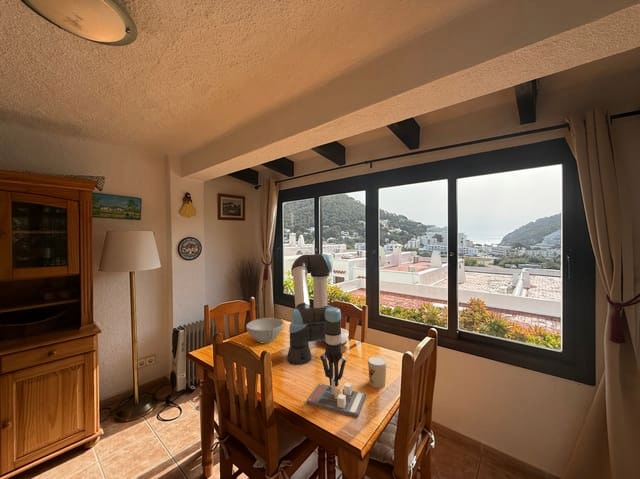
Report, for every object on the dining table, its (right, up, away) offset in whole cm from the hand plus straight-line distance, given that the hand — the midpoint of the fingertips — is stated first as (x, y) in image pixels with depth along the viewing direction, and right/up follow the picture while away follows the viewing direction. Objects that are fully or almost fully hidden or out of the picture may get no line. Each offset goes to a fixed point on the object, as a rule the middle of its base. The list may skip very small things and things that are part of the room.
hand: (334, 392), depth 121 cm
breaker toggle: (+2, -2, -1) cm, 3 cm away
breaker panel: (+1, -4, 0) cm, 4 cm away
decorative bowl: (-47, -3, +71) cm, 85 cm away
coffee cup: (+23, -3, +12) cm, 26 cm away
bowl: (+5, -2, +65) cm, 65 cm away
